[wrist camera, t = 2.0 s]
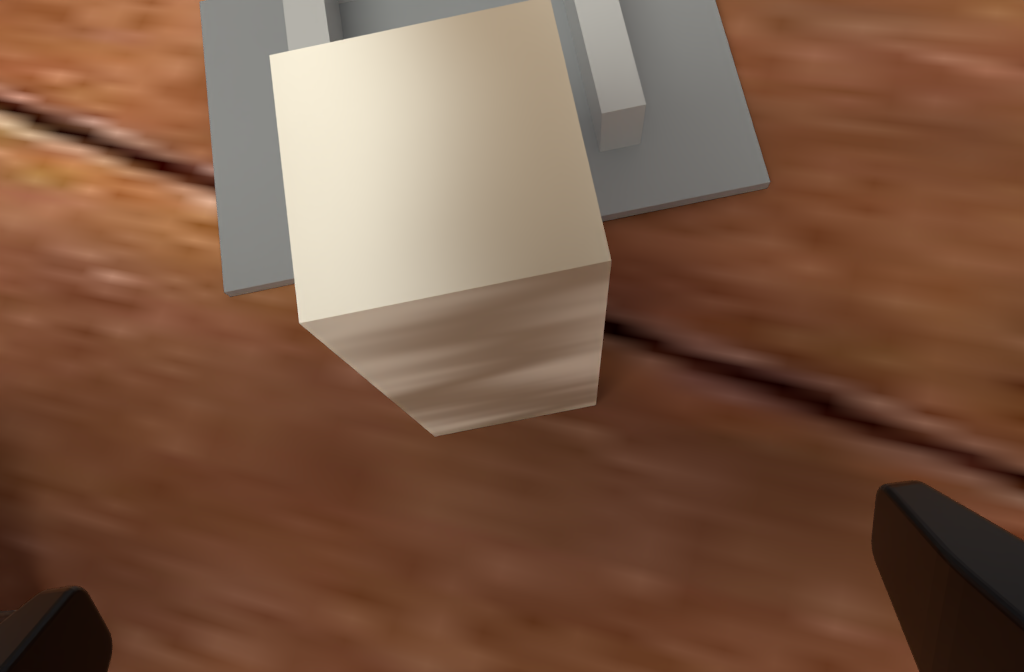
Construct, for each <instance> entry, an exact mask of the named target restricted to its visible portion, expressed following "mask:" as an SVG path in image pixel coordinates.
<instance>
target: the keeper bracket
mask: <svg viewBox="0 0 1024 672" xmlns="http://www.w3.org/2000/svg"><path fill="white" fill-rule="evenodd" d="M524 1H528V0H206V1H201V2H200V12H201V24H202V36H203V47H204V59H205V71H206V83H207V95H208V107H209V119H210V130H211V142H212V154H213V166H214V178H215V190H216V202H217V213H218V225H219V237H220V249H221V261H222V273H223V285H224V293H226V294H227V295H228V296H230V297H231V296H236V295H241V294H246V293H251V292H256V291H261V290H266V289H271V288H276V287H281V286H286V285H291V284H295V280H294V271H293V262H292V254H291V245H290V236H289V227H288V218H287V209H286V200H285V191H284V182H283V173H282V164H281V155H280V146H279V137H278V128H277V119H276V110H275V101H274V92H273V83H272V74H271V66H270V57H269V55H273V54H277V53H282V52H287V51H292V50H296V49H301V48H306V47H311V46H315V45H320V44H325V43H329V42H334V41H339V40H344V39H348V38H353V37H358V36H363V35H367V34H372V33H377V32H382V31H386V30H391V29H396V28H401V27H405V26H410V25H415V24H419V23H424V22H429V21H434V20H438V19H443V18H448V17H453V16H457V15H462V14H467V13H472V12H476V11H481V10H486V9H491V8H495V7H500V6H505V5H509V4H514V3H519V2H524ZM551 4H552V8H553V13H554V17H555V21H556V25H557V30H558V34H559V38H560V43H561V47H562V51H563V55H564V60H565V64H566V68H567V73H568V77H569V81H570V85H571V90H572V94H573V98H574V102H575V107H576V111H577V115H578V120H579V124H580V128H581V132H582V137H583V141H584V145H585V150H586V154H587V158H588V162H589V167H590V171H591V175H592V179H593V184H594V188H595V192H596V197H597V201H598V205H599V209H600V214H601V218H602V222H603V221H608V220H612V219H617V218H622V217H627V216H632V215H637V214H642V213H647V212H652V211H657V210H662V209H667V208H672V207H677V206H682V205H687V204H692V203H697V202H702V201H707V200H711V199H716V198H721V197H726V196H731V195H736V194H741V193H746V192H751V191H756V190H761V189H766V188H768V186H769V184H770V179H769V176H768V173H767V169H766V166H765V163H764V160H763V156H762V153H761V150H760V146H759V143H758V140H757V136H756V133H755V130H754V127H753V123H752V120H751V117H750V113H749V110H748V107H747V104H746V100H745V97H744V94H743V90H742V87H741V84H740V81H739V77H738V74H737V71H736V67H735V64H734V61H733V57H732V54H731V51H730V48H729V44H728V41H727V38H726V34H725V31H724V28H723V25H722V21H721V18H720V15H719V11H718V8H717V5H716V2H715V0H551Z"/></svg>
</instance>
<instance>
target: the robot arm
mask: <svg viewBox="0 0 1024 672" xmlns="http://www.w3.org/2000/svg"><path fill="white" fill-rule="evenodd" d="M871 543H872V551H873V556H874V559H875V562H876V565H877V567H878V570H879V572H880V575H881V577H882V580H883V582H884V585H885V587H886V590H887V592H888V595H889V597H890V600H891V602H892V605H893V607H894V610H895V612H896V615H897V617H898V620H899V622H900V625H901V627H902V630H903V632H904V635H905V637H906V640H907V642H908V645H909V647H910V650H911V652H912V655H913V657H914V660H915V662H916V665H917V667H918V670H919V672H1024V541H1023V540H1022V539H1020V538H1018V537H1017V536H1015V535H1013V534H1011V533H1010V532H1008V531H1006V530H1004V529H1003V528H1001V527H999V526H998V525H996V524H994V523H992V522H991V521H989V520H987V519H985V518H984V517H982V516H980V515H979V514H977V513H975V512H973V511H972V510H970V509H968V508H966V507H965V506H963V505H961V504H960V503H958V502H956V501H954V500H953V499H951V498H949V497H947V496H946V495H944V494H942V493H941V492H939V491H937V490H935V489H934V488H932V487H930V486H928V485H927V484H925V483H923V482H920V481H914V480H911V481H903V482H895V483H887V484H884V485H882V486H881V487H879V489H878V491H877V494H876V501H875V510H874V520H873V529H872V540H871ZM111 655H112V638H111V634H110V631H109V629H108V627H107V626H106V624H105V622H104V620H103V619H102V617H101V615H100V613H99V611H98V610H97V608H96V606H95V604H94V603H93V601H92V599H91V597H90V595H89V594H88V592H87V591H86V590H85V589H83V588H82V587H80V586H68V587H60V588H52V589H47V590H44V591H42V592H40V593H38V594H37V595H35V596H34V597H33V598H32V599H30V600H29V601H28V602H26V603H25V604H24V605H23V606H21V607H20V608H19V609H18V610H16V611H15V612H14V613H12V614H11V615H10V616H9V617H7V618H6V619H5V620H3V621H2V622H1V623H0V672H108V668H109V664H110V660H111Z"/></svg>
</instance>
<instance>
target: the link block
mask: <svg viewBox="0 0 1024 672" xmlns="http://www.w3.org/2000/svg"><path fill="white" fill-rule="evenodd" d="M269 57H270V66H271V74H272V83H273V92H274V101H275V110H276V119H277V128H278V137H279V146H280V155H281V164H282V173H283V182H284V191H285V200H286V209H287V218H288V227H289V236H290V245H291V254H292V262H293V271H294V280H295V289H296V298H297V307H298V316H299V323H300V324H301V325H302V326H303V327H304V328H306V329H307V330H308V331H309V332H310V333H311V334H313V335H314V336H315V337H316V338H317V339H319V340H320V341H321V342H322V343H323V344H325V345H326V346H327V347H328V348H329V349H331V350H332V351H333V352H334V353H335V354H337V355H338V356H339V357H340V358H341V359H343V360H344V361H345V362H346V363H347V364H349V365H350V366H351V367H352V368H353V369H355V370H356V371H357V372H358V373H359V374H361V375H362V376H363V377H364V378H365V379H367V380H368V381H369V382H370V383H371V384H373V385H374V386H375V387H376V388H377V389H378V390H380V391H381V392H382V393H383V394H384V395H386V396H387V397H388V398H389V399H390V400H392V401H393V402H394V403H395V404H396V405H398V406H399V407H400V408H401V409H402V410H404V411H405V412H406V413H407V414H408V415H410V416H411V417H412V418H413V419H414V420H416V421H417V422H418V423H419V424H420V425H422V426H423V427H424V428H425V429H426V430H428V431H429V432H430V433H431V434H432V435H434V436H440V435H446V434H451V433H456V432H461V431H466V430H471V429H476V428H481V427H486V426H492V425H497V424H502V423H507V422H512V421H517V420H522V419H527V418H532V417H538V416H543V415H548V414H553V413H558V412H563V411H568V410H573V409H578V408H583V407H589V406H594V405H596V399H597V390H598V380H599V371H600V362H601V353H602V343H603V334H604V325H605V316H606V306H607V297H608V288H609V279H610V269H611V257H610V252H609V248H608V244H607V239H606V235H605V231H604V227H603V222H602V218H601V214H600V209H599V205H598V201H597V197H596V192H595V188H594V184H593V179H592V175H591V171H590V167H589V162H588V158H587V154H586V150H585V145H584V141H583V137H582V132H581V128H580V124H579V120H578V115H577V111H576V107H575V102H574V98H573V94H572V90H571V85H570V81H569V77H568V73H567V68H566V64H565V60H564V55H563V51H562V47H561V43H560V38H559V34H558V30H557V25H556V21H555V17H554V13H553V8H552V4H551V0H528V1H524V2H519V3H514V4H509V5H505V6H500V7H495V8H491V9H486V10H481V11H476V12H472V13H467V14H462V15H457V16H453V17H448V18H443V19H438V20H434V21H429V22H424V23H419V24H415V25H410V26H405V27H401V28H396V29H391V30H386V31H382V32H377V33H372V34H367V35H363V36H358V37H353V38H348V39H344V40H339V41H334V42H329V43H325V44H320V45H315V46H311V47H306V48H301V49H296V50H292V51H287V52H282V53H277V54H273V55H269Z"/></svg>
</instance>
